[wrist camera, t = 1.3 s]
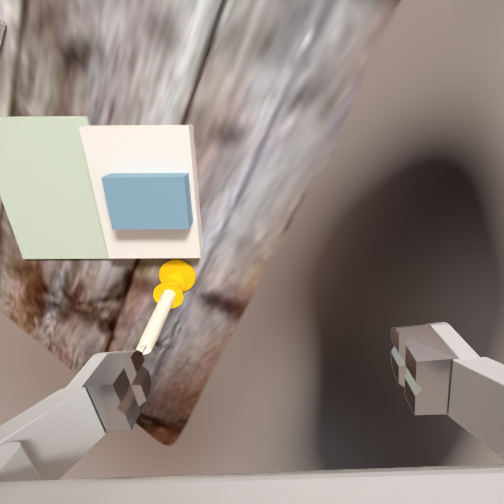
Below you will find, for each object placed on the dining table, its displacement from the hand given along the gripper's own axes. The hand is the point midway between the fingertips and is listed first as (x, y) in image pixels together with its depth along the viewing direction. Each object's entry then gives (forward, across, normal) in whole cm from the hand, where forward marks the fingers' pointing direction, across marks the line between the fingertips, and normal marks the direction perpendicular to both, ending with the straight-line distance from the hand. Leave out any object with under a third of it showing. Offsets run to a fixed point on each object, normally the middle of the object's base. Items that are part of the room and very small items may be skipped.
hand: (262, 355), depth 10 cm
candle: (+31, +15, +10) cm, 36 cm away
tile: (+27, +14, -2) cm, 31 cm away
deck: (+30, +15, -2) cm, 33 cm away
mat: (+29, +27, -4) cm, 40 cm away
